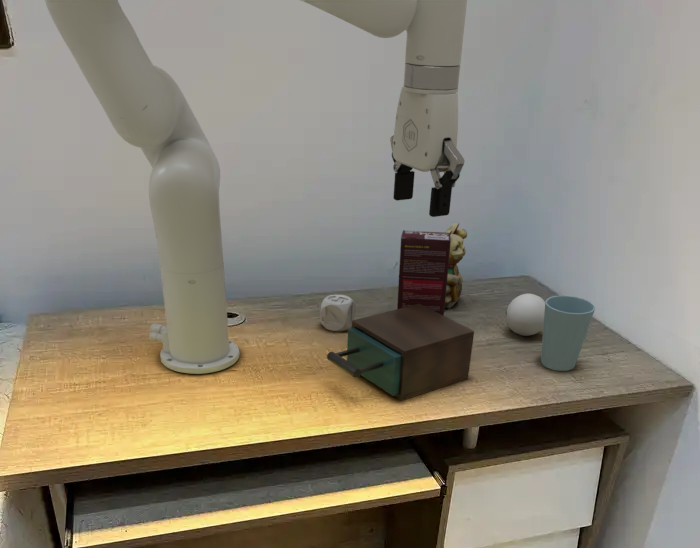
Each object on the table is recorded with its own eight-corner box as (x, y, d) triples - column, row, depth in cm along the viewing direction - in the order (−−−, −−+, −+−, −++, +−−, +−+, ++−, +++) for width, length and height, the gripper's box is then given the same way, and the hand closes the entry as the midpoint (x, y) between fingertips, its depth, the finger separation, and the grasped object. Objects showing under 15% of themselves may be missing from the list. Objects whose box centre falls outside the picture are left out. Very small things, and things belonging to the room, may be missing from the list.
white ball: (553, 339, 130) (561, 299, 126) (518, 345, 128) (525, 305, 123) (520, 318, 138) (527, 280, 134) (487, 323, 135) (492, 285, 131)
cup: (590, 364, 122) (604, 304, 116) (566, 379, 117) (579, 317, 112) (551, 350, 126) (562, 291, 121) (525, 363, 122) (536, 303, 116)
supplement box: (442, 317, 137) (451, 231, 128) (442, 328, 133) (452, 240, 124) (396, 314, 137) (402, 229, 128) (394, 325, 133) (400, 237, 124)
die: (345, 333, 130) (346, 306, 127) (319, 328, 131) (319, 302, 128) (355, 323, 133) (356, 296, 131) (329, 318, 135) (330, 292, 132)
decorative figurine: (453, 313, 138) (462, 233, 130) (411, 306, 141) (417, 227, 132) (465, 296, 146) (474, 220, 138) (425, 290, 148) (432, 214, 140)
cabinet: (401, 400, 110) (404, 351, 105) (350, 367, 118) (351, 320, 114) (468, 378, 116) (474, 331, 112) (415, 348, 125) (419, 303, 121)
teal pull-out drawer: (362, 405, 106) (364, 366, 103) (317, 374, 114) (317, 336, 111) (455, 375, 115) (459, 338, 112) (407, 348, 123) (410, 312, 120)
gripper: (375, 72, 105) (369, 195, 115) (445, 88, 93) (432, 225, 103) (419, 71, 109) (410, 191, 118) (492, 86, 96) (475, 219, 106)
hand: (420, 207), depth 110 cm, fingers open, 9 cm apart
